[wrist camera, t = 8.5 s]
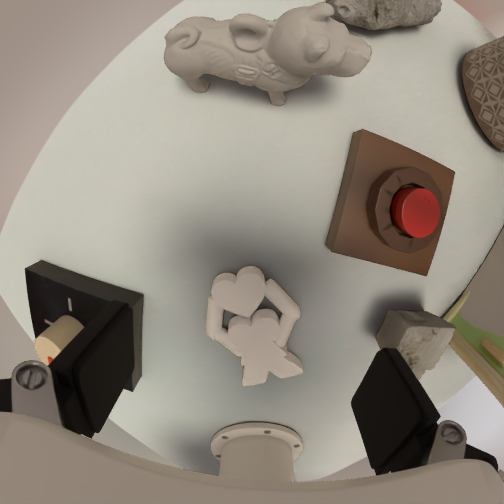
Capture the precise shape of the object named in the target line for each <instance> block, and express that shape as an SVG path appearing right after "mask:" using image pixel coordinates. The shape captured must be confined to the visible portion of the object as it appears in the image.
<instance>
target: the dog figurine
mask: <svg viewBox="0 0 504 504" xmlns="http://www.w3.org/2000/svg"><path fill="white" fill-rule="evenodd" d="M333 15H334V8H333V7H332V6H331V5H330V4H328V3H318V4H315V5H312V6H309V7H299V8H294V9H291V10H289V11H287V12H285V13H284V14H283V15H282V16H280V17H279V18H278V19H277V20H276V19H275V20H273V21H269V20H265V19H263V18H261V17H258V16H256V15H252V14H239V15H237V16H235V17H234V18H233V19H230V20H224V21H216V20H215V19H213V18H209V17H190V18H187V19H185V20H183V21H181V22H180V23H179V24H177V25H176V26H175V27H174V28H173V29H171V30H170V31H169V32H168V33H167V35H166V36H165V40H166V48H165V52H164V61H165V64H166V66H167V68H168V69H169V70H170V71H171V72H172V73H174V74H175V75H177V76H180V77H181V78H183V79H184V80H185V81H186V82H187V83H188V85H189V86H190V87H191V88H192V89H193V90H194V91H195V92H200V93H202V92H206V91H207V89H208V86H209V81H208V80H207V79H205V78H203V79H201V78H200V76H202V75H203V74H212V75H215V76H218V77H221V78H224V79H230V80H234V81H238V82H239V84H244V85H248V86H253V85H255V86H257V87H258V88H259V89H262V90H266V91H267V92H268V93H269V97H270V101H271V104H273V105H276V106H281V105H283V104H285V102H286V100H287V98H286V96H285V95H284V91H289V90H293V89H296V88H299V87H301V86H302V85H304V84H305V83H306V82H307V81H308V80H310V79H311V78H312V76H313V74H314V73H318V74H320V75H333V76H338V77H351V76H354V75H356V74H358V73H360V72H361V70H362V69H363V68H364V67H365V66H366V65H367V63H368V62H369V61H370V57H371V54H372V49H371V46H369V45H368V44H367V43H366V42H365V40H364V39H362V38H361V37H359V36H354V35H351V34H350V33H349V32H348V29H347V27H346V26H345V25H344V24H343V23H340V22H338V21H336V20H334V19H332V18H331V17H330V16H333Z"/></svg>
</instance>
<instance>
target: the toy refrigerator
mask: <svg viewBox="0 0 504 504" xmlns="http://www.w3.org/2000/svg"><path fill="white" fill-rule="evenodd" d="M469 294H470V291H469V290H467V291H466V292H465V293H464V294H463V295H462V297H461V298H460V299H459V300H458V301H457V303H456V304H455V305H454V306H453V307H452V308H451V310H450V311H449V312H448V313H447V314H446V315H445V316H444V317H443V318H442V319H444V320H446V321H447V322H449V323H451V324H453V325H455V327H456V329H455V330H454V332H453V336H452V338H451V340H450V342H449V344H450V345H451V347H452V348H453V350H454V351H455V352H456V353H457V354H458V355H459V356H460V358H461V359H462V360H463V361H464V362H465V363H466V364H467V365H468V366H469V367H470V368H471V370H472V371H473V372H474V373H475V374H476V375H477V376H478V377H479V378H480V380H481V381H482V382H483V383H484V384H485V386H486V387H487V388H488V389H489V390H490V391H491V393H492V394H493V395H494V396H495V397H496V399H497V400H498V401H499V402H500V403H501V405H502V406H503V407H504V337H503V336H500V335H497V334H495V333H492V332H487V331H484V330H481V329H479V328H476V327H474V326H473V325H471V324H470V323H468V322H467V321H466V320H464V319H463V318H462V317H461V316H460V314H459V312H458V311H459V309H460V308H461V306H462V305H463V304H464V302H465V301H466V299H467V298H468V296H469Z"/></svg>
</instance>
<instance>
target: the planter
mask: <svg viewBox="0 0 504 504" xmlns="http://www.w3.org/2000/svg"><path fill="white" fill-rule="evenodd" d="M462 77H463V84H464V89H465V93H466V96H467V99H468V102H469V105H470V107H471V110H472V112H473V114H474V117H475V119H476V121H477V122H478V124H479V126H480V128H481V129H482V131H483V132H484V134H485V135H486V137H487V138H488V139H489V140H490V142H491V143H492V144H493V145H494V146H496V147H497V148H498V149H500V150H501V151H503V152H504V36H503V37H501V38H498V39H496V40H493V41H491V42H489V43H486V44H484V45H482V46H480V47H477V48H475V49H473V50H471V51H469V52H468V53H467V54H466V56H465V58H464V60H463V65H462Z"/></svg>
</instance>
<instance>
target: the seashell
mask: <svg viewBox="0 0 504 504" xmlns="http://www.w3.org/2000/svg"><path fill="white" fill-rule="evenodd" d="M326 3H328V4H330V5H331V6H332V7H333V8H334V16H335V17H337V18H339V19H340V20H342V21H344V22H346V23H348V24H350V25H354V26H360V27H363V28H367V29H368V30H378V29H389V28H391V27H392V28H394V27H396V26H398V25H399V26H410V25H412V26H414V25H424V24H427V23H431V22H432V20H433V17H435V16H436V15H437V14H438V13H439V12H440V10H441V5H442V2H441V0H326Z"/></svg>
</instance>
